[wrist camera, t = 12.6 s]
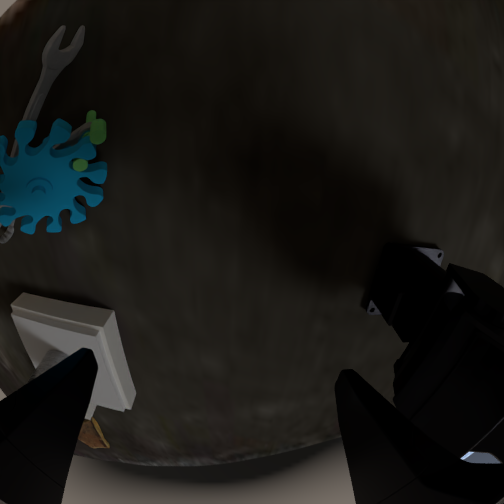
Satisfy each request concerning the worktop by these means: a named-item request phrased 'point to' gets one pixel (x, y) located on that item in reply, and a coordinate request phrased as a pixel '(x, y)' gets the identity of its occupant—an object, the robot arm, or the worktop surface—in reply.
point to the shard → (92, 434)
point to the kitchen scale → (77, 343)
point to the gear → (51, 173)
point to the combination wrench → (47, 85)
